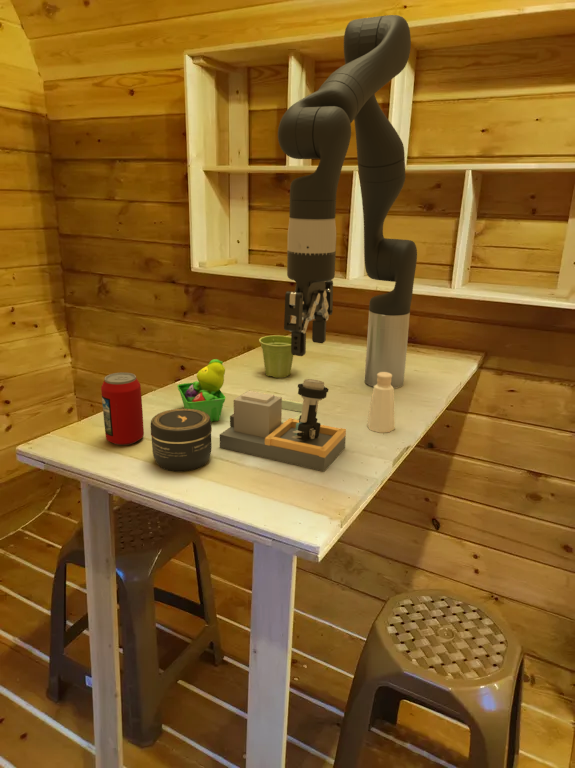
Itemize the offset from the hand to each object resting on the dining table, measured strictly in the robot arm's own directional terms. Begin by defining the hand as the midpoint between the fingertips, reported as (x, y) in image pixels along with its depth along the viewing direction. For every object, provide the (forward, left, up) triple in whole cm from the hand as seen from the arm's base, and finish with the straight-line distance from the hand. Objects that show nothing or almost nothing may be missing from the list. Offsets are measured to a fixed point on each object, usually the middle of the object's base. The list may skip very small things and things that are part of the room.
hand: (308, 348), depth 97 cm
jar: (+12, -18, -19) cm, 29 cm away
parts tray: (-12, -12, -19) cm, 25 cm away
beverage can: (+10, -32, -19) cm, 38 cm away
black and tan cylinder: (+1, 0, -16) cm, 16 cm away
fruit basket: (-7, -26, -19) cm, 33 cm away
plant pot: (-37, -24, -19) cm, 48 cm away
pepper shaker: (-17, +8, -19) cm, 27 cm away
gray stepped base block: (0, -5, -19) cm, 20 cm away
